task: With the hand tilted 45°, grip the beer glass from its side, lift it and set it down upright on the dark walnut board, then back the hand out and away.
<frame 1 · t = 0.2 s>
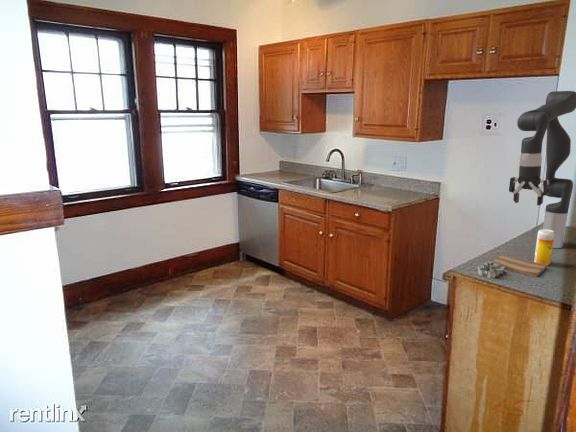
hand: (527, 203, 166), 28 cm above the countertop, tool pointing down, fingers open, 8 cm apart
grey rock: (489, 274, 170), on the countertop
beer glass: (541, 264, 179), on the countertop
walnut board: (517, 267, 176), on the countertop
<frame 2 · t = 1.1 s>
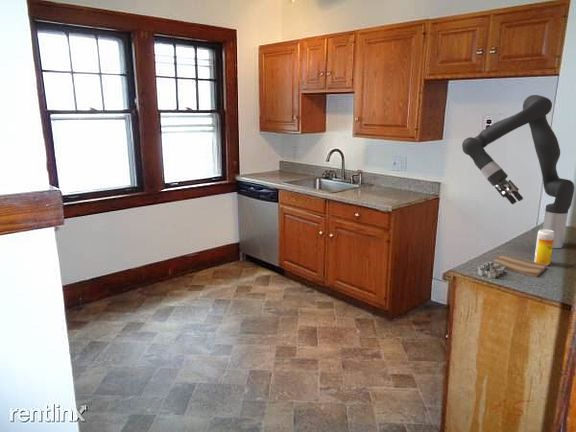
hand: (518, 201, 181), 26 cm above the countertop, tool tilted 45°, fingers open, 8 cm apart
nothing on the countertop moved.
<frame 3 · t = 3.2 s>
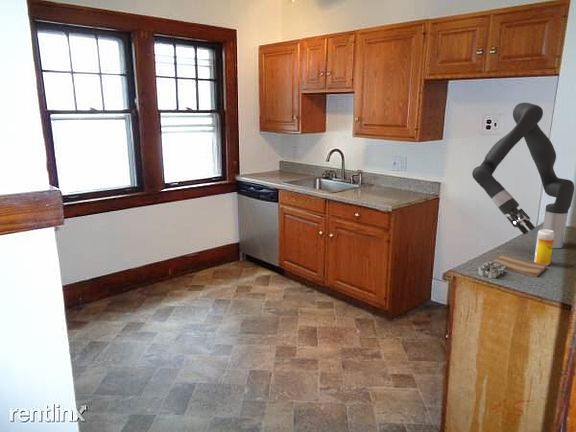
hand: (529, 231, 180), 14 cm above the countertop, tool tilted 45°, fingers open, 8 cm apart
nothing on the countertop moved.
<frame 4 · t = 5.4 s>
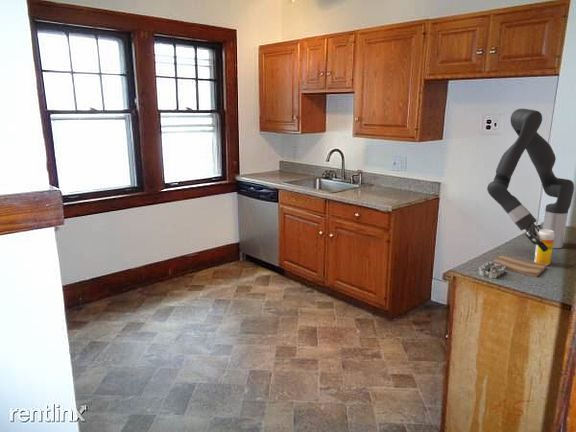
hand: (548, 248, 176), 7 cm above the countertop, tool tilted 45°, fingers closed on beer glass, 6 cm apart
beer glass: (541, 264, 179), on the countertop, touching gripper
everything else where it was.
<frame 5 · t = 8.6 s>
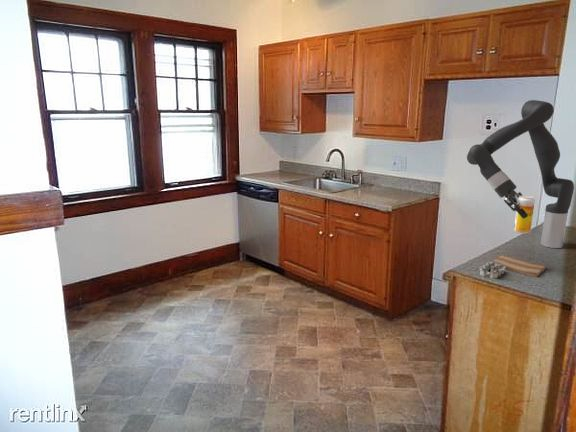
hand: (528, 215, 169), 23 cm above the countertop, tool tilted 45°, fingers closed on beer glass, 6 cm apart
beer glass: (521, 232, 172), point 16 cm above the countertop, touching gripper
everything else where it was.
when the fingers open (10 cm above the countertop, at t = 12.1 s): beer glass drops 1 cm, resting on walnut board.
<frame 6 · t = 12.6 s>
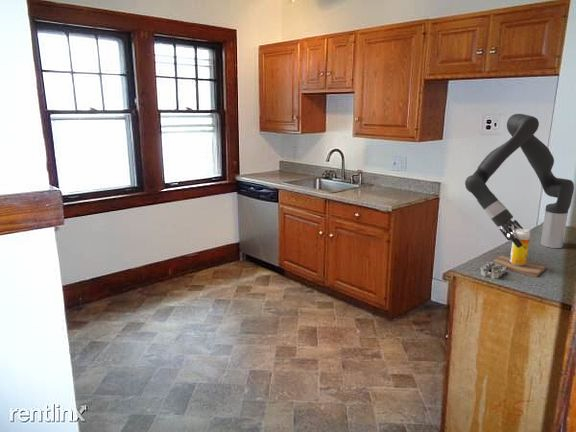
hand: (524, 244, 172), 11 cm above the countertop, tool tilted 45°, fingers open, 8 cm apart
beer glass: (517, 264, 175), point 1 cm above the countertop, touching walnut board
everything else where it was.
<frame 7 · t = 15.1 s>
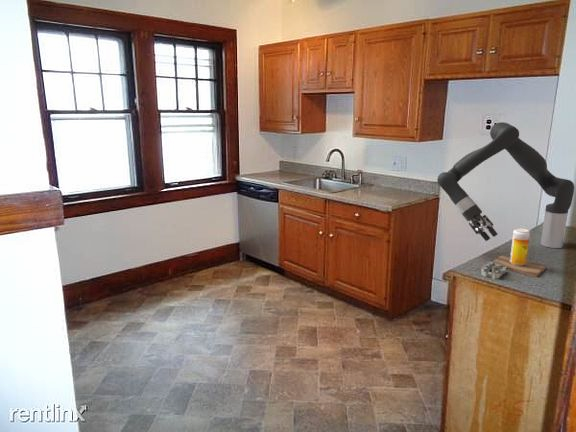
hand: (492, 237, 181), 11 cm above the countertop, tool tilted 45°, fingers open, 8 cm apart
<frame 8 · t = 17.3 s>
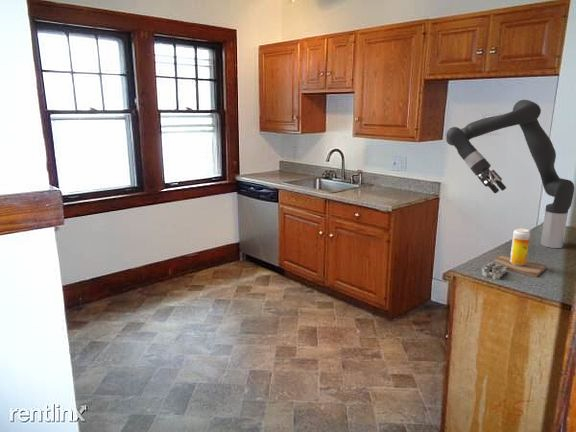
hand: (500, 190, 182), 31 cm above the countertop, tool tilted 45°, fingers open, 8 cm apart
at the end: beer glass inside the target area on the walnut board (0.2 cm from its centre), point 1.3 cm above the walnut board's base; beer glass tilted 0°; the gripper is holding nothing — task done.
